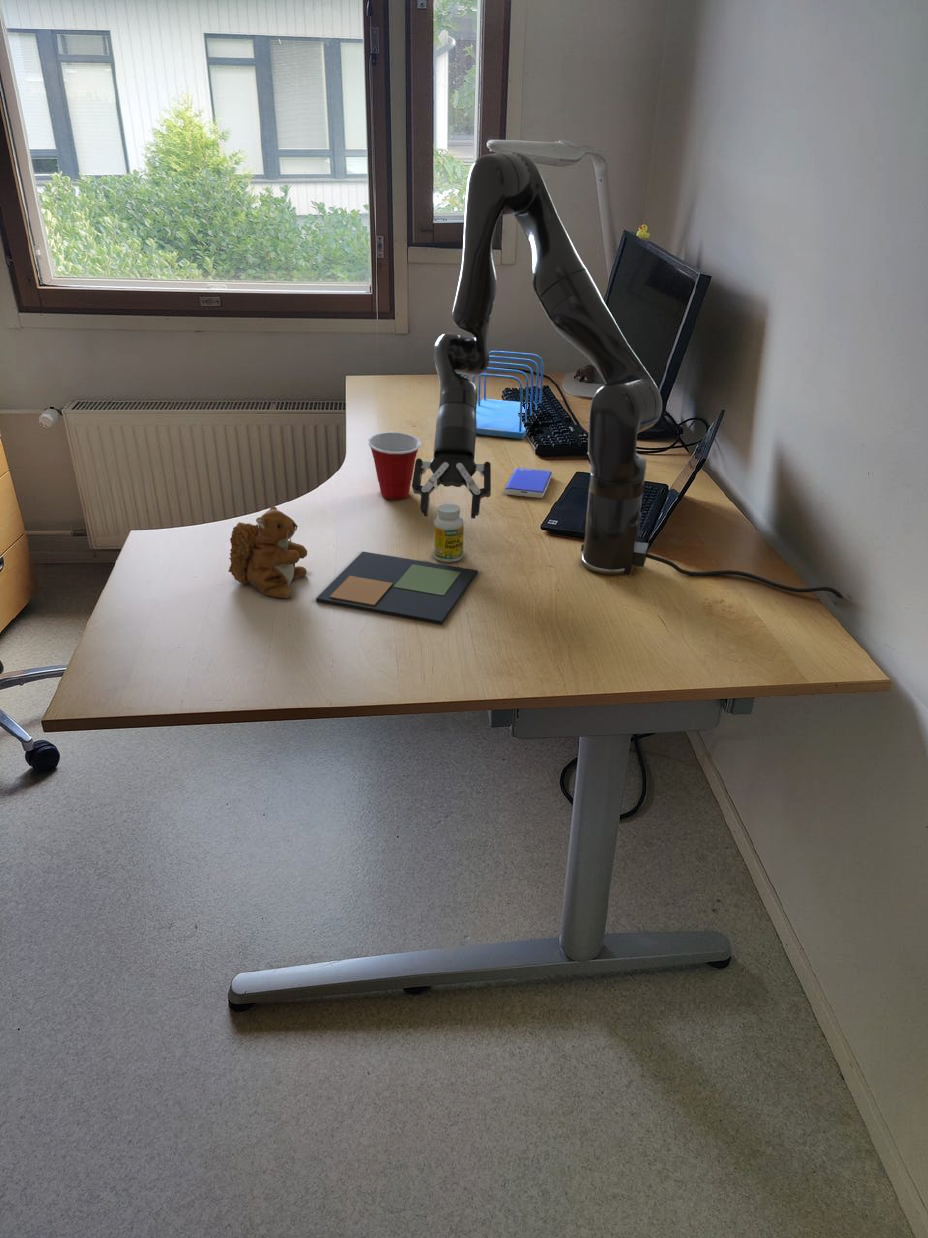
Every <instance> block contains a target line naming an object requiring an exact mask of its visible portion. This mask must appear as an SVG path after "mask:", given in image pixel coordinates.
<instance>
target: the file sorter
mask: <svg viewBox="0 0 928 1238" xmlns="http://www.w3.org/2000/svg"><path fill="white" fill-rule="evenodd" d="M493 354H500V355H501V354H502V355H514V356H526V357H535V358H537V359H538V360H539V361H540V368H539V364H538V363H537V362H536V361H535V360H533V359H529V358H522V357H512V356H500V355H499V356H498V355H493ZM489 359H494V360H495V359H496V360H507V361H518V362H529V363H532V364H533V365H534V366H535V368H536V378H535V379H536V380H535V394H534V375H535V374H534V371H533V369H532V367H530V366H529V365H527V364H522V363H511V362H500V361H499V362H498V361H489V364H488V365H494V366H495V365H496V366H497V365H498V366H508V367H519V368H526V369H527V370H528V371H529V372H530V380H529V376H528V375H527V374H526V373H525V372H524V371H522V370H519V369H511V368H510V369H509V368H499V367H487V369H486V370H485V372H484V373H482V374H481V375H479V376H478V379H477V380H478V382H477V383H478V385H477V386H478V387H477V392H478V393H477V409H476V420H477V428H476V431H477V435H483V436H492V437H503V438H511V439H519V440H523V439H524V438H525V436H526V435H527V434H528V433H529V431H527V432H526V429H525V427H524V424H523V422H522V413H525V423H526V422H527V409H528V403H530V416H531V415H532V403H534V404H535V410H537V404H539V403H541V404H542V402H543V384H544V360H543V358H542V357H541V356H540V355H538V354H536V353H527V352H517V351H506V350H505V351H502V350H491V351H489ZM487 371H496V372H507V373H517V374H521V375H522V376H524V378H525V383H526V384H525V385H526V386H525V403H526V404H525V409H524V407H523V406H522V405H523V404H522V403H523V401H524V399H523V398H524V386H523V382H522V381H521V380H520V378H518V377H516V376H513V375H506V374H505V375H504V374H493V373H487ZM461 376H462V377H464V378H466V379H468V380H470V378H469V377H470V376H469V375H464V374H461ZM471 377H472V378H471V379H472V380H471V381H472V382H473V383H474V384H475V383H476V382H475V381H476V379H475V378H476V376H471ZM481 377H483V398H481V382H482V378H481ZM487 377H489V378H502V379H510V380H514V381H517V383H518V385H519V389H520V390H519V391H520V393H519V397H520V399H519V401H513V400H501V399H491V398H487ZM539 377H540V378H539ZM539 380H540V383H539ZM529 381H530V382H529ZM529 384H530V386H529ZM475 385H476V384H475ZM529 387H530V396H529ZM534 395H535V396H534ZM538 395H539V398H538ZM529 397H530V399H529ZM534 398H535V399H534ZM538 399H539V401H538ZM529 400H530V401H529ZM533 400H534V402H533ZM518 413H520V417H519V416H518V415H519V414H518Z"/></svg>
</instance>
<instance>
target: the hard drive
mask: <svg viewBox="0 0 928 1238" xmlns="http://www.w3.org/2000/svg"><path fill="white" fill-rule="evenodd" d="M552 475H553V471H550V470H544V469H543V470H542V469H532V468H522V467H516V468H515V469H514V471H513V473H512V474H511V476H510V478H509V481H508V482H507V484H506V486H505V488H504V494H505V495H508V496H520V497H527V498H537V499H542V498H543V497H544V495H545V493H546V491H547V488H548V487H549V484H550V481H551V479H552Z"/></svg>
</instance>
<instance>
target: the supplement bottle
mask: <svg viewBox="0 0 928 1238" xmlns="http://www.w3.org/2000/svg"><path fill="white" fill-rule="evenodd" d="M436 513H437V516H436V517H435V519H434V521H433V557H434V558H435V559H436V560H437V561H440V562H443V563H454V562H458V561H460V560H461V559H463V557H464V533H465V532H464V531H465V530H464V527H465V526H464V524H465V523H464V519H463V518H462V517H461V508H460V506H459V505H457V504H454V503H442V504H439V505H438V507H437V512H436Z"/></svg>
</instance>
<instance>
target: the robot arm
mask: <svg viewBox="0 0 928 1238" xmlns="http://www.w3.org/2000/svg"><path fill="white" fill-rule="evenodd" d="M465 192H466V193H465V204H464V205H465V207H464V223H463V241H462V243H463V244H462V257H461V267H460V272H459V273H460V274H459V279H458V283H457V288H456V293H455V298H454V301H453V302H454V303H453V306H452V312H451V321H452V322H453V324H454V325H455V326H456V327H458V328H460V329H461V330H463V331H466V332H468V333H470V334H471V335H472V336H468V335H464V334H457V333H453V332H445V333H443V334H441V335H440V336H439V337H438V338H437V339H436V341H435V343H434V347H433V360H434V365H435V370H436V374H437V378H438V383H439V384H438V385H439V403H438V411H437V416H436V422H435V434H434V444H433V456H432V459H431V461H424V460H423V459H422V458H420V457H419V458H415V463H414V469H413V475H412V480H411V489H412V493H413V494H414V495H415V494H416V495H417V494H418V495H419V496H420V506H419V507H420V512H421V513H422V514H423V517H429V514H430V513H429V512H430V500H431V497H430V495H431V494H432V493H433V492H434V491H436V490H438V489H439V487H440V486H441V485H442V486H443V487H454V488H455V487H456V488H461V487H463V486H464V487H465V488H466V490H467V491H468V492H469V493H470V495H472V497H471V511H470V519H474V520H475V519H476V516H477V517H479V514H480V509H481V508H480V507H481V500H482V499H484V498H490V497H491V495H492V487H491V486H492V472H491V471H492V468H491V467H492V466H491V465H492V464H491V462H490V461H485V462H484V463H476V461H475V455H476V454H475V453H476V440H477V435H478V434H477V431H476V428H477V420H476V409H477V404H478V387H477V385H476V384H474V383H473V382H472V380H471V379H469V380H468V379H466V377H462V375H469V377H472V376H475V377H479V375H481V374H484V372H485V370H486V369H487V367H488V366H489V365H490V364H489V362H490V358H489V356H490V355H489V352H490V343H489V329H490V320H491V316H492V313H493V309H494V305H495V304H494V303H495V300H496V295H497V291H498V273H497V269H496V264H495V260H494V255H493V239H494V234H495V230H496V227H497V224H498V221H499V219H500V217H501V216H505V215H506V216H507V215H510V214H512V215H513V216H514V218H515V219H516V221H517V222H518V224H519V225H520V228H521V229H522V231H523V233H524V235H525V237H526V240H527V241H528V245H529V249H530V256H531V257H530V258H531V283H532V288H533V291H534V294H535V296H536V298H537V301H538V303H539V305H540V307H541V308H542V310H543V312H544V313H545V316H546V317H547V319H548V321H549V323H550V324H551V326H552V327H553V329H554V330H555V331H556V332H557V333H558V334H559V335H560V336H561V337H562V338H563V339H564V340H565V341H567V342H568V343H569V344H570V345H571V346H572V347H574V348H575V349H576V350H578V351H579V352H580V353H581V354H582V355H583V356H585V357H586V358H587V359H588V360H589V362H591V364H592V365H593V366H594V368H595V369H596V370H597V372H598V374H599V376H600V377H601V379H602V380H603V383H604V385H602V386H601V387H599V388H598V389H597V390H596V391H595V393H594V395H593V397H592V399H591V402H590V407H589V413H588V414H589V416H588V434H587V454H588V455H587V456H588V459H589V461H590V474H589V485H588V495H587V505H586V506H587V507H586V514H585V515H586V517H585V525H584V526H585V527H584V537H583V544H581V547H580V553H582V555H581V564H582V566H583V567H584V568H586V569H587V570H589V571H590V572H593V573H596V574H601V575H608V576H618V575H631V574H632V572H633V570H634V568H635V566H636V567H642V568H644V567H645V563H646V561H647V559H650V560H654V561H656V562H660V563H662V564H664V565H667V566H669V567H671V568H673V569H674V570H675V571H677V572H679V573H680V574H682V575H686V576H691V577H708V576H719V575H721V576H722V575H732V576H741V577H746V578H749V579H752V580H756V581H758V582H762V583H763V584H767V585H769V586H771V587H774V588H777V589H781V590H784V591H788V592H793V593H801V594H802V593H803V594H804V593H813V592H830V593H832V594H834V595H835V596H836V597H837V598H841V599H842V598H843V597H844V596H843V595H842V593H841V592H840V591H838V590H837V589H835V588H833V587H831V586H825V585H824V586H821V585H820V586H812V587H794V586H789V585H785V584H781V583H779V582H775V581H773V580H770V579H768V578H765V577H762V576H760V575H756V574H753V573H749V572H745V571H740V570H733V569H720V570H710V571H692V570H687V569H683V568H681V567H680V566H678V565H677V564H675V563H674V562H673V561H671V560H668V559H666V558H664V557H660V556H657V555H653V554H651V553H649V545H650V543H647V542H641V541H639V537H640V529H641V523H642V516H643V515H642V512H641V511H642V510H641V509H642V503H643V502H642V501H643V495H644V486H645V479H646V478H645V477H646V470H647V461H646V458H645V457H644V456H643V455H641V454H639V453H638V452H637V444H638V443H637V441H638V434H639V433H641V432H644V431H646V430H648V429H650V428H652V427H653V426H654V425H656V424H657V423H658V422H659V420H660V418H661V416H662V413H663V399H662V396H661V392H660V390H659V388H658V385H657V384H656V382H655V380H654V379H653V378H652V376H651V375H650V373H649V372H648V370H647V369H646V367H645V366H644V365H643V363H642V362H641V361H640V359H639V357H638V356H637V355H636V353H635V352H634V350H633V349H632V348H631V345H629V343H628V341H627V339H626V338H625V336H624V335H623V333H622V331H621V329H620V328H619V326H618V324H617V323H616V320H615V318H614V317H613V315H612V313H611V312H610V310H609V307H608V306H607V304H606V303H605V301H604V299H603V297H602V294H601V293H600V290H599V288H598V286H597V285H596V283H595V281H594V280H593V277H592V276H591V274H590V271H588V269H587V266H586V265H585V263H584V262H583V260H582V258H581V257H580V255H579V253H578V251H577V250H576V248H575V246H574V244H573V242H572V240H571V237H570V236H569V234H568V232H567V230H566V228H565V226H564V225H563V222H562V220H561V218H560V216H559V214H558V212H557V210H556V207H555V206H554V202H553V199H552V198H551V195H550V193H549V191H548V189H547V186H546V183H545V181H544V178H543V176H542V175H541V172H540V170H539V168H538V166H537V164H536V163H535V162H534V160H533V159H532V158H531V157H530V156H529V155H528V154H526V153H524V152H521V151H506V152H498V153H497V152H496V153H495V152H494V153H489V154H484V155H482V156H480V157H478V158H477V159H476V160H475V161H474V162H473V164H472V165H471V167H470V170H469V173H468V177H467V184H466V191H465ZM488 368H489V367H488ZM486 371H487V370H486ZM428 470H430V471H431V473H432V475H430V477H429V478H428V481H426V483H425V484H423V485H421V484H422V478H423V475H424V474H426V473H427V471H428ZM476 472H478V473H479V476H480V477H483V487H482V488H481V487H480V488H479V487H478V485H477V484H476V482H475V480H474V478H473V476H474V474H475V473H476Z"/></svg>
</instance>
